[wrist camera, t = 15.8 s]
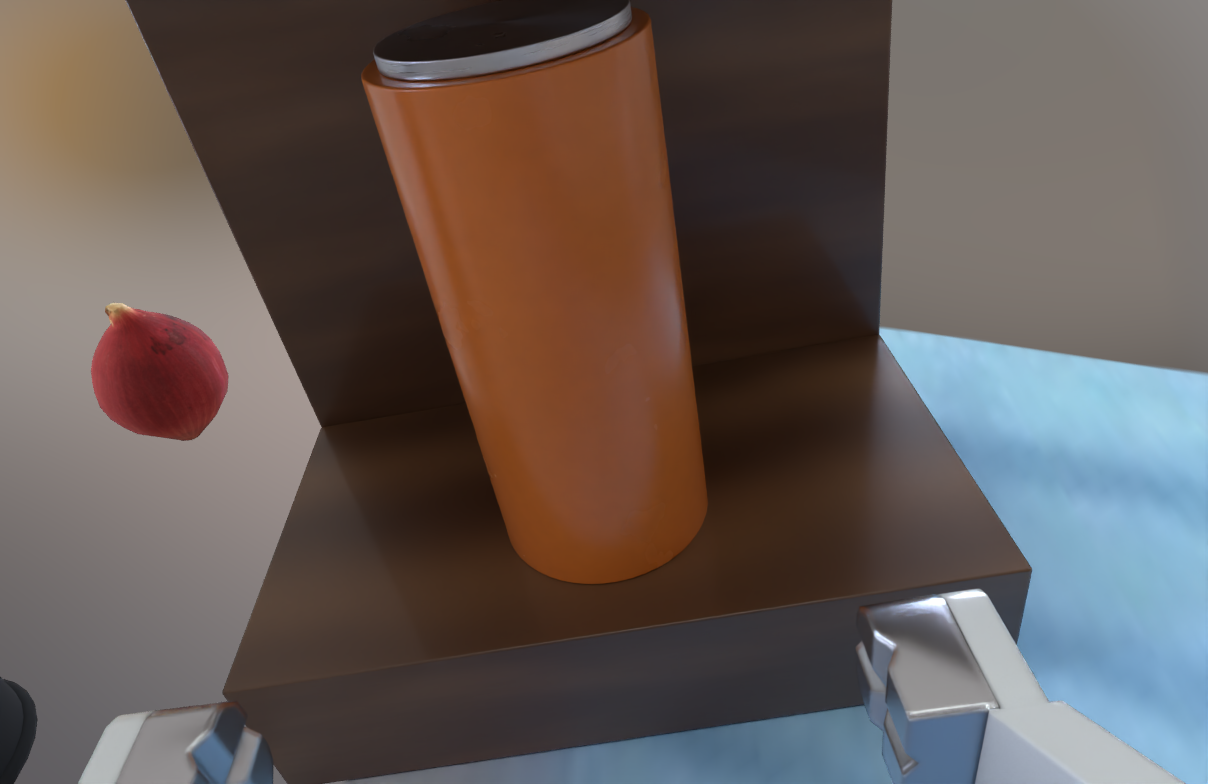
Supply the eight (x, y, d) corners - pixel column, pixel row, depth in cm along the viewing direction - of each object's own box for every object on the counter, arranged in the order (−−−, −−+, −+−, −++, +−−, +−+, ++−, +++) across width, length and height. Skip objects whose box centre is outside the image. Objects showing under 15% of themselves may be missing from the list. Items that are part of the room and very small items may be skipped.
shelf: (1009, 684, 24) (1257, -502, 10) (290, 789, 25) (-395, -157, 11) (867, 420, 35) (892, -335, 21) (366, 502, 36) (67, -166, 22)
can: (741, 467, 26) (700, -23, 18) (645, 614, 22) (534, 65, 14) (577, 425, 29) (478, -7, 21) (467, 546, 25) (290, 68, 17)
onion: (239, 389, 46) (173, 260, 41) (262, 436, 41) (191, 298, 37) (130, 435, 43) (48, 305, 39) (143, 489, 39) (53, 351, 35)
